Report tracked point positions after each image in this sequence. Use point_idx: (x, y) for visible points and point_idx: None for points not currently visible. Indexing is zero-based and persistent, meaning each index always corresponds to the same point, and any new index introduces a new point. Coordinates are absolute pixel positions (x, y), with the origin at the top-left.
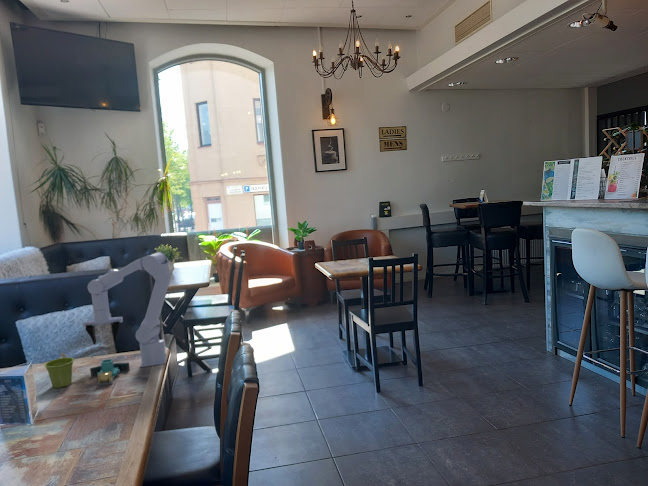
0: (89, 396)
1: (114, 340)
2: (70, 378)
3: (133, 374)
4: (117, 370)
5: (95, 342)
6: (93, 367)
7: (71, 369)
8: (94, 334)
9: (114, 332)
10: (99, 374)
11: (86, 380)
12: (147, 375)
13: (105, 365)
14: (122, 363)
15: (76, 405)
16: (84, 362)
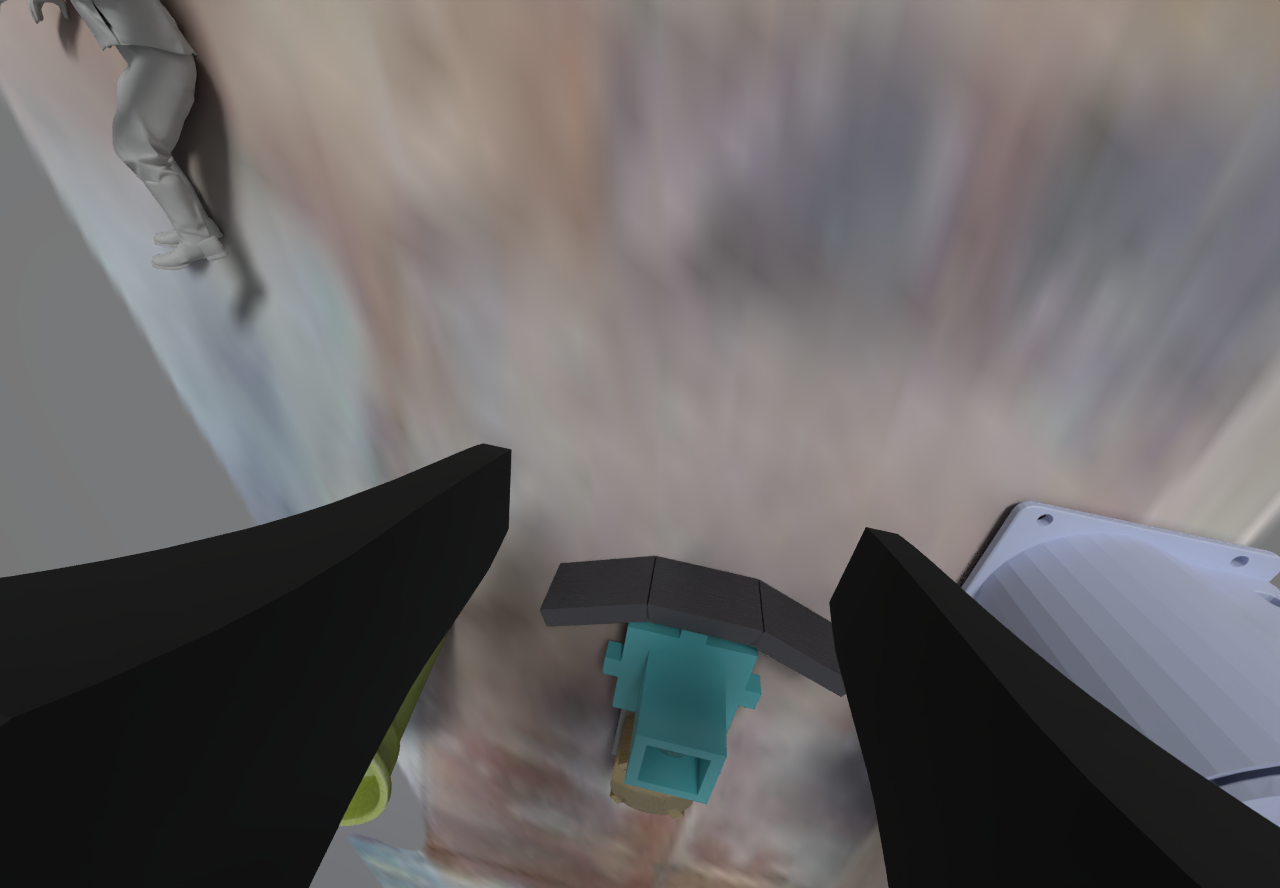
0: (583, 804)
1: (837, 623)
2: (436, 656)
3: (838, 711)
4: (743, 706)
5: (500, 524)
6: (566, 610)
7: (411, 708)
8: (397, 593)
9: (905, 839)
10: (619, 782)
11: (541, 621)
12: None
13: (659, 764)
14: (802, 674)
15: (541, 836)
16: (427, 67)
